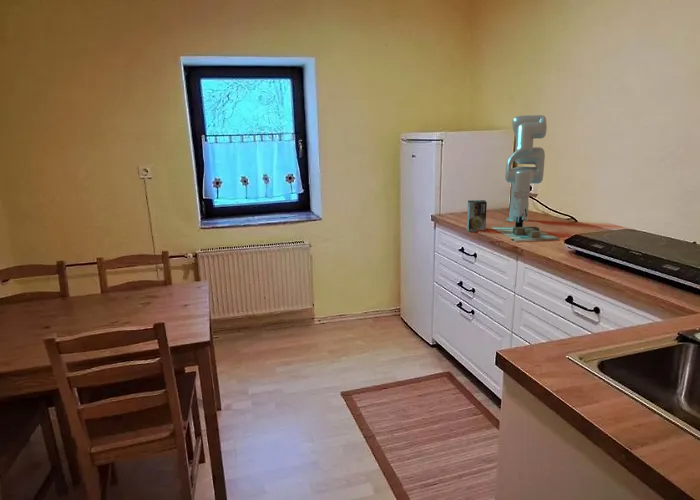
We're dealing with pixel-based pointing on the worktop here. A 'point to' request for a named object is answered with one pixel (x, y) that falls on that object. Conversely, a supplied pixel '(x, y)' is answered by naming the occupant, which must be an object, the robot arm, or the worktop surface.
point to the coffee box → (476, 215)
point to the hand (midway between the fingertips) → (518, 229)
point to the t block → (527, 231)
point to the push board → (523, 238)
